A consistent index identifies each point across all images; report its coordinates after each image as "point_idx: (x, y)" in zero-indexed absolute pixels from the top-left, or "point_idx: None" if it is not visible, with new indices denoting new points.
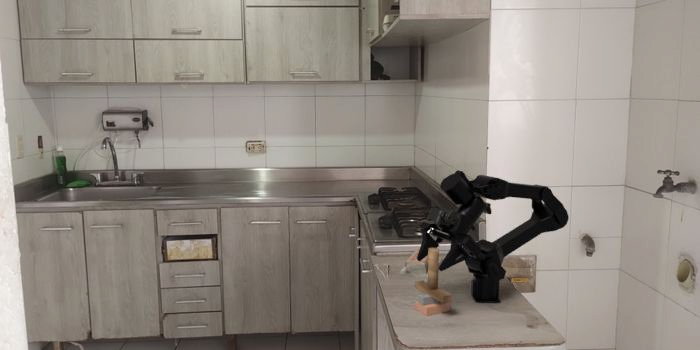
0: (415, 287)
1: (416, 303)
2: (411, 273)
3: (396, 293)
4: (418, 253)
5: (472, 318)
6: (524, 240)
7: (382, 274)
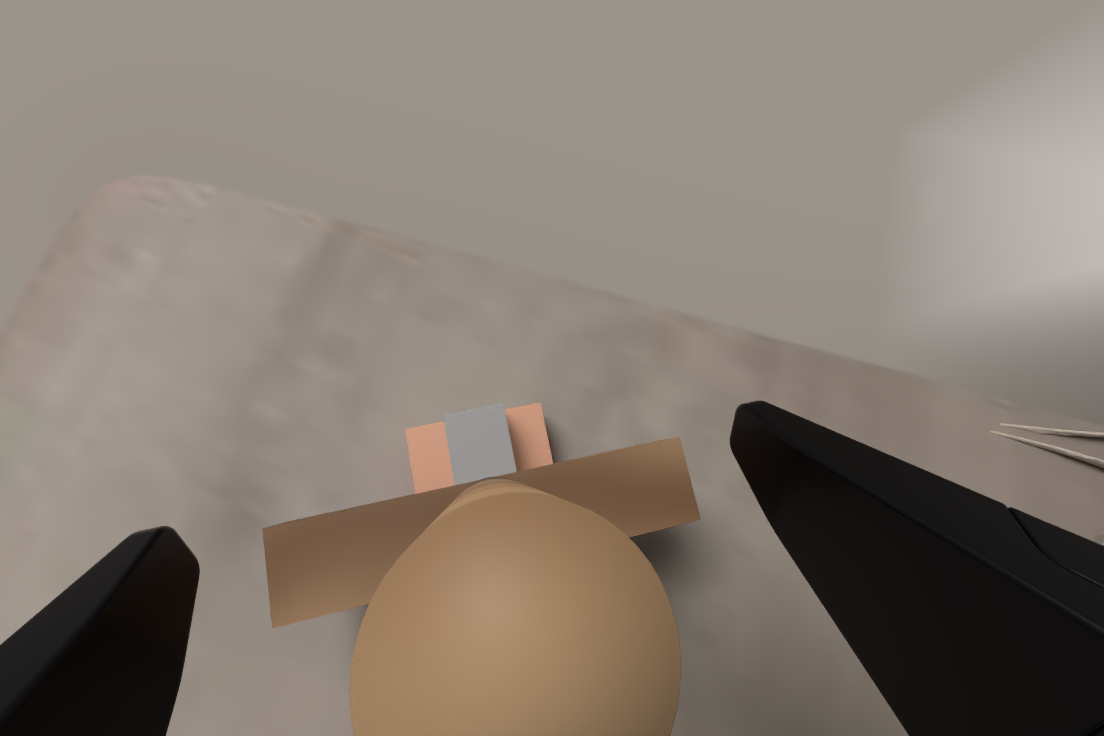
0: (655, 441)
1: (523, 407)
2: None
3: (790, 399)
4: (832, 434)
5: (266, 724)
6: None
7: (1094, 434)
